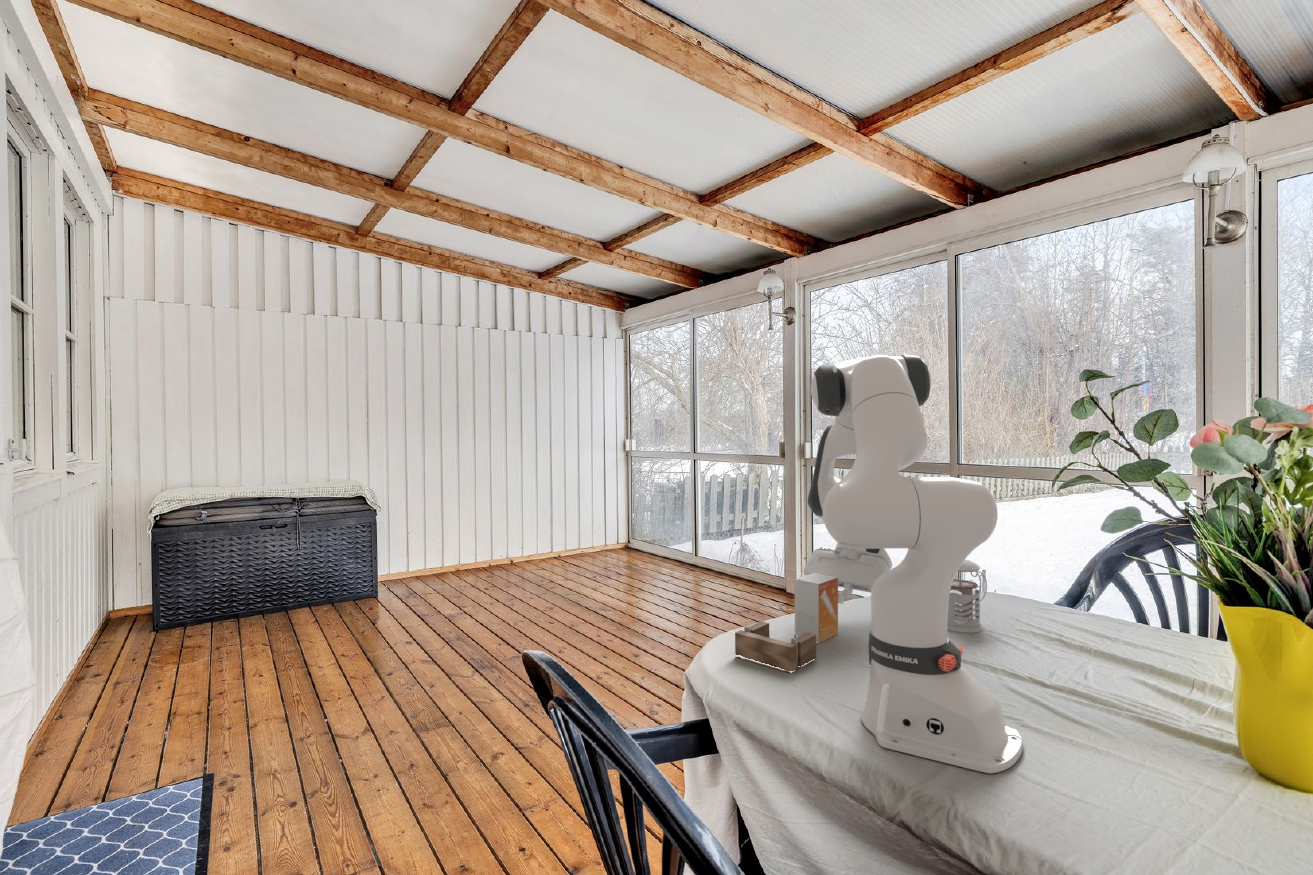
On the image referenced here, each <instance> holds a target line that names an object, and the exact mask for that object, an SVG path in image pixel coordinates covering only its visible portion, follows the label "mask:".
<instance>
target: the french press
mask: <svg viewBox="0 0 1313 875" xmlns="http://www.w3.org/2000/svg"><path fill="white" fill-rule="evenodd" d="M980 569H981V566H980V565H979V564H977V563H976V562H973V561H972V560H968V559H965V560H964V561H963V563H962V564H961V566H960V567H959V569H958V571H957V573H958V572H959V578H957V579H956V578H954V579H953V582H952V585H951V588H950V591H957V592H960V593H961V594H959V593H957V592H950V593H949V603H948V621H947V631H948V630H949V631H952V632H958V633H970V634H971V633H979V632H983V631H984V630H985V628H986V627H985V626H984V625H983V624H982V623H981V620H980V618H981V617H980V616H981V614H980V613H981V612H980V611H981V608H980V607H981V606H980V605H981V604H980V602H982V601H983V600H984V599H985V596H986V593H987V590H988V582H987V581H988V580H987V579H986V575H984V573H983V572H981V571H980ZM974 572H975V575H973V573H974ZM962 573H970V576H972V577H974V578H977V577H978V580H979V584H978V583H977V582H974V581H972V580H966V579H965V580H964V579H962ZM980 574H981V575H982V577H983V579H984V583H985V588H984V590H985V591H984V593H983V595H982V598H980V594H981V593H980V592H981V590H982V579H981V575H980ZM978 586H979V589H976V588H978ZM973 593H974V594H973ZM973 607H974V608H973Z"/></svg>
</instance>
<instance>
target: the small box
mask: <svg viewBox="0 0 1313 875" xmlns="http://www.w3.org/2000/svg"><path fill="white" fill-rule="evenodd" d="M838 593H839V587H838V577H833V576H829V575H824V574H818V573H813V574H809V575H806V576H805V575H802V576H801V577H798V578H795V579H794V637H795V636H798V637H799V636H801V635H803V634H805V633H807V632H808V633H812V634H816V642H818V643H817V644H821V643H823V642H824V641H823V640H825V639H827V640H829V639H831V638H833V637H835V635H836V636H838V635H839V603H838ZM837 634H838V635H837ZM832 636H833V637H832ZM830 637H831V638H830ZM828 638H829V639H828ZM822 641H823V642H822ZM825 641H826V640H825ZM820 642H821V643H820Z"/></svg>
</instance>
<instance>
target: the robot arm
mask: <svg viewBox="0 0 1313 875" xmlns="http://www.w3.org/2000/svg"><path fill="white" fill-rule="evenodd" d="M931 389H932V376H931V373H930V370H929V369H928V365H927V363H926V361H924V359H922V358H921V357H920V356H918V355H912V354H911V355H910V354H901V355H900V356H889V355H884V354H876V355H875V354H874V355H871V356H868V357H867V356H865V357H859V358H853V359H847V360H843V361H839V362H828V363H825V364H823V365H820V366H818V368H817V369H815V371H814V372H813V377H812V380H811V384H810V395H811V398H812V401H813V403H814V405H815V406H816V409H817V411H818V412H820V413H821V414H822V415H825V416H828V417H829V416H830V417H835V421H834V423H833V424H831V425H828V426H826V427H825V430H824V431H823V432H822V435H821V436H820V440H819V444H818V448H817V453H816V458H815V463H814V468H813V469H814V470H813V473H812V474H813V475H812V481H811V484H810V488H809V490H808V495H807V505H808V507H809V509H810V510H811V512H812V513H813V514H814V515H815V516H816V517H821V518H822V520H823V523H824V525H825V529H826V530H827V532H828V534H829V535H830V536H831V537H832V539H833V540H835V542H836V545H835V548H831V547H830V548H827V547H823V546H821V547H819V548H817V549H814V550H813V551H812V553H811V556H810V557H809V558H808V561H807V562H806V564H805V566H804V568H803V574H804V575H803V576H806V575H809V574H813V573H818V574H824V575H829V576H833V577H838V588H843V590H842V591H840V593H839V592H838V604H840V605H841V604H842V605H843V604H844V602H845V599H846V598H848V597H849V596H850V595H852V594H853V592H854V590H855V591H859V592H860V591H861V592H865V593H870V596H871V597H870V598H871V599H870V600H871V605H870V607H871V612H870V613H871V616H870V617H871V630H870V631H869V632H868V648H867V650H868V652H867V653H868V663H869V665H870V672H869V681H868V688H867V696H866V699H865V704H864V708H863V710H862V714H861V721H862V723H863V725H864V727H865V728H866V729H867V730H869V731H870V733H872V734H873V735H874V736H875V739H876V743H877V745H879V746H880V747H882V748H883V749H887V750H892V751H897V752H900V753H905V754H908V755H913V756H916V757H921V758H925V759H928V760H931V761H932V760H933V761H936V762H940V763H944V764H949V765H953V766H957V767H961V768H963V769H969V770H971V771H972V770H973V771H976V772H982V773H986V774H994V773H995V774H996V773H1000V772H1003V771H1005V770H1007V769H1010V768H1011V767H1012V766H1014V765H1015V763H1017V762H1018V760H1019V759H1020V757H1021V755H1022V752H1023V749H1024V748H1023V747H1024V746H1023V740H1022V739H1023V738H1022V736H1021V735H1020V732H1018V731H1017V729H1014V728H1011V727H1009V726H1006V723H1005V716H1004V712H1003V708H1002V705H1001V702H1000V701H999V698H997V696H996V695H995V694H993V693H992V692H991V691H990V690H989V689H988V688H986V687H985V685H983V684H982V683H980V681H978V680H977V679H976V678H975V677H974V676H972V674H970V673H969V672H968V671H967V670H966V669H965V668H964V667H962V655H963V654H964V644H962V645H960V646H959V647H956V645H955V644H954V643H953V642H952V641H951V639H950V638H949V637H948V629H947V621H948V603H949V593H951V590H950V588H951V585H952V582H953V579H955V576H956V575H957V573H958V572H957V571H958V569H959V567H960V566H961V564H962V563H963V561H964V560H967V557H968V556H969V555H970V554H971V553H972V552H973V551H974V550H975V549H976V548H978V547H979V546H981V545H982V544H984V543H985V542H987V540H988V539H989V538H990V537H991V536H992V534H993V533H994V531H995V529H996V526H997V523H998V522H997V521H998V516H999V515H998V507H997V503H996V500H995V499H994V497H993V494H992V493H991V491H990V490H989V489H988V488H987V487H986V486H985V484H982V483H981V482H978V481H975V480H970V479H969V480H968V479H963V478H958V477H953V476H935V477H934V476H931V477H930V476H923V477H917V476H916V477H913V476H912V477H909V476H903V475H901V473H900V471H902V470H904V469H906V468H908V467H910V466H911V465H913V464H914V463H915V462H917V461H918V460H919V459H920V458H921V457H922V456H923V455H924V453H925V451H926V449H927V445H928V435H927V431H926V428H925V423H924V419H923V415H922V413H921V408H920V407H922V406H923V405H925V403H926V402H927V400H928V399H929V397H930V391H931ZM845 456H855V459H854V463H853V464H852V467H851V469H850V470H849V471H848V472H847V474H846V475H845V476H844V477H843V478H842V479H840V478H838V477H836V476H835V475H834V469H835V465H836V459H837V458H840V457H845ZM886 549H907V553H906V555H905V556H904V558H903V559H902V561H901V562H900V563H899V564H898V565H896V566H895V567H893V563H892V560H891V558H890V556H889V553H888V551H886ZM892 567H893V568H892Z"/></svg>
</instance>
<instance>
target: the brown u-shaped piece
mask: <svg viewBox="0 0 1313 875" xmlns="http://www.w3.org/2000/svg"><path fill="white" fill-rule="evenodd" d="M734 647H735V648H734V653H735V654H736V655H741V656H743V657H745V658H748V659H753V660H755V661H759V662H761V663H765V664H769V665H771V666H774V667H779V668H781V669H784V670H786V671H794V670H796V669H797V670H798V668H799V667H798V666H800V667H801V666H802V665H804V664H805V663H808V662H809V661H811V660H813V659H815V660H817V643H816V634H812V633H808V632H807V633H805V634H803V635H801V636H799V637H792V638H791V639H790V642H787V641H784V640H779V639H776V638H771V637H770V623H769V622H766V621H761V620H760V621H759V622H756V623H754V624H752V625H747V626H746V625H745V626H744V630H738V631H736V632H735V633H734ZM735 654H734V655H735ZM797 667H798V668H797Z"/></svg>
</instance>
